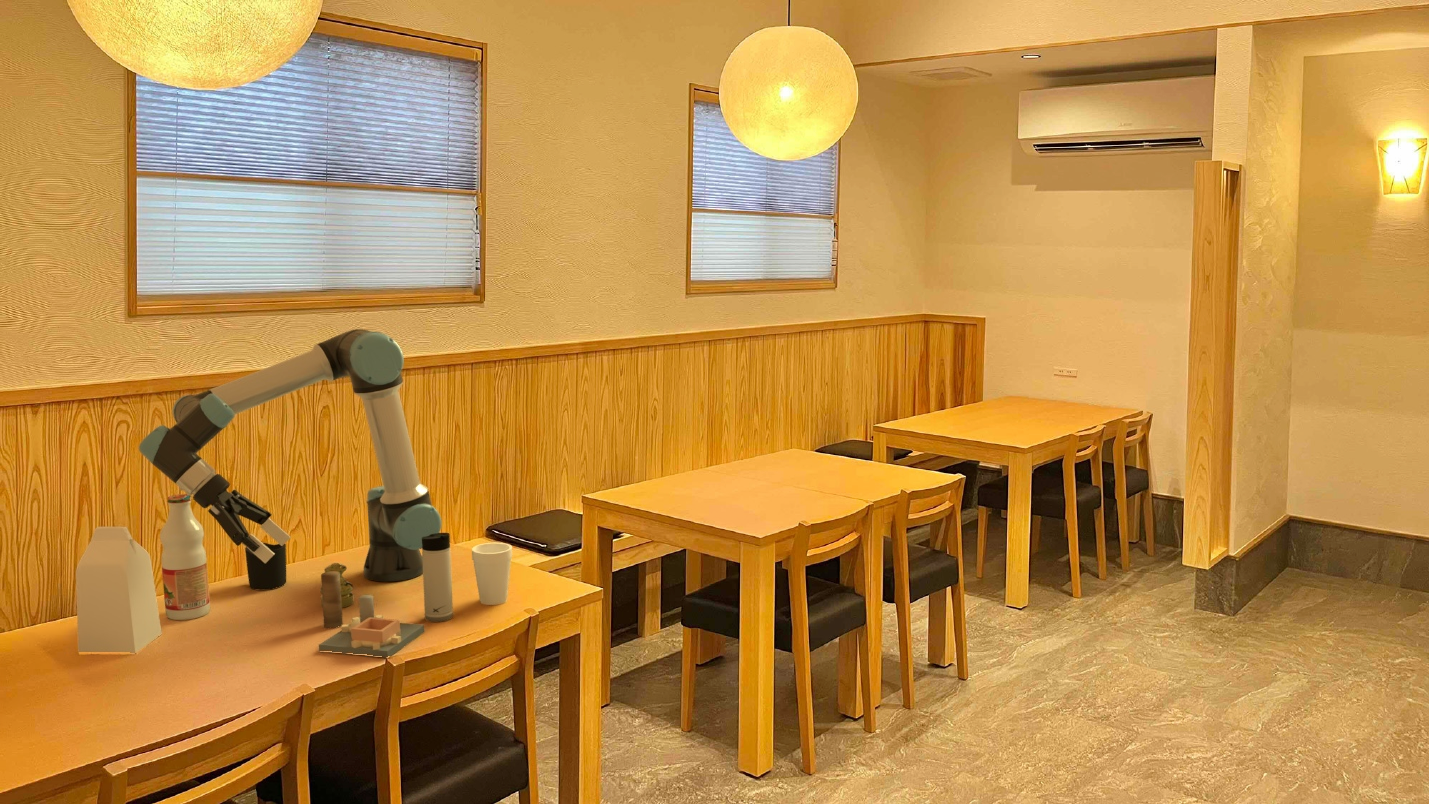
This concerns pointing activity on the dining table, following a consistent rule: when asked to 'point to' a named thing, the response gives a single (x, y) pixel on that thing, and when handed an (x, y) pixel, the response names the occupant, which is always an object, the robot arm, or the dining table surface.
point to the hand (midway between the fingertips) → (278, 550)
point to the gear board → (372, 633)
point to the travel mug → (437, 577)
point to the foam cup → (492, 571)
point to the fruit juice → (184, 562)
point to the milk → (115, 594)
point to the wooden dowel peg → (331, 599)
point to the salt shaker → (345, 586)
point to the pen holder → (267, 568)
